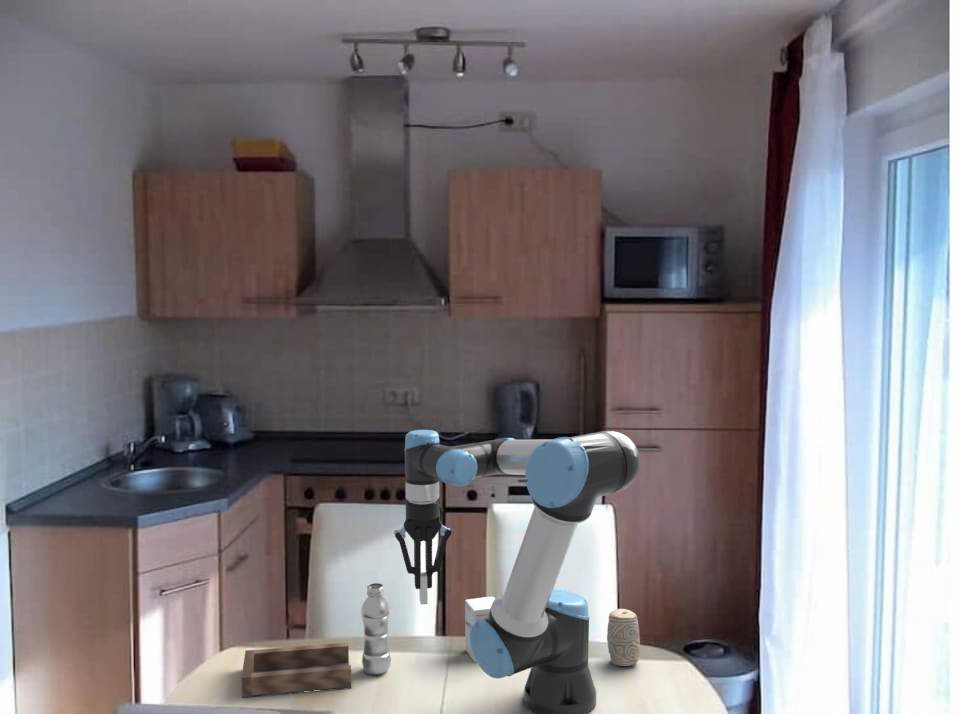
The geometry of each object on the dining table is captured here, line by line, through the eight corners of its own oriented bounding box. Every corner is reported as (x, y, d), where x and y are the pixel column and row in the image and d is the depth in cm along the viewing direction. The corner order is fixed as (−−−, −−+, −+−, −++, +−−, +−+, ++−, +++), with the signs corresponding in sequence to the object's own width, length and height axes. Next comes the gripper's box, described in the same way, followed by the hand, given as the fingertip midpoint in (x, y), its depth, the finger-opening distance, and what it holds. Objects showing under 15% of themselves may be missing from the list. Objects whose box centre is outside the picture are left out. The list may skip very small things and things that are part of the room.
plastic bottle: (393, 665, 214) (392, 581, 212) (387, 679, 207) (386, 591, 205) (365, 664, 215) (364, 580, 212) (359, 677, 208) (357, 590, 206)
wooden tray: (348, 660, 217) (348, 642, 216) (351, 688, 203) (351, 668, 203) (246, 669, 213) (245, 650, 212) (242, 697, 199) (241, 678, 198)
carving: (608, 655, 219) (609, 606, 218) (641, 659, 217) (642, 609, 216) (604, 667, 213) (605, 616, 212) (638, 671, 211) (639, 619, 210)
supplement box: (464, 650, 222) (464, 598, 221) (494, 646, 224) (494, 595, 223) (473, 663, 215) (473, 610, 214) (504, 659, 217) (504, 606, 216)
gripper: (448, 494, 214) (449, 594, 216) (391, 496, 211) (393, 598, 214) (454, 502, 206) (454, 606, 209) (394, 505, 204) (396, 610, 207)
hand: (423, 601), depth 211 cm, fingers closed
